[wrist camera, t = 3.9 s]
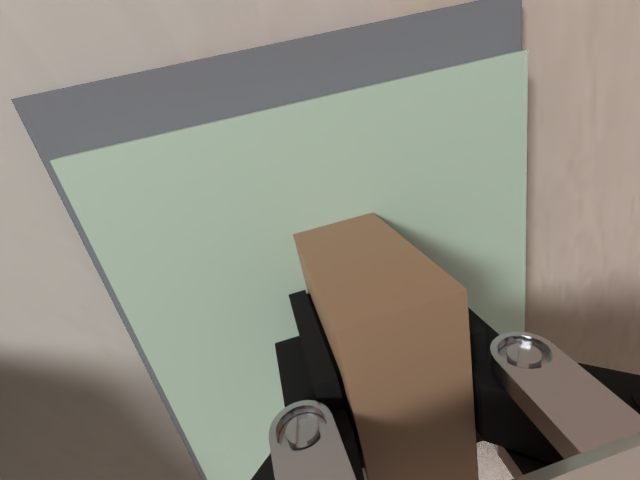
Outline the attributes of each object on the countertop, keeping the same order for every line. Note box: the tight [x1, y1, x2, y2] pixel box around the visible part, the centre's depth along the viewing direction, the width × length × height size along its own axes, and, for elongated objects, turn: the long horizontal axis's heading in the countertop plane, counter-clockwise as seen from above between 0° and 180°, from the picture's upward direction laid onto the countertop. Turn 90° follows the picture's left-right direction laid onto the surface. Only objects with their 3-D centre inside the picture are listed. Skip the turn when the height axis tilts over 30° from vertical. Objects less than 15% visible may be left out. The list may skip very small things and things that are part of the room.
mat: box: [11, 0, 522, 480], centre depth 13 cm, size 16×14×1 cm
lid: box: [50, 50, 528, 480], centre depth 10 cm, size 13×13×6 cm
